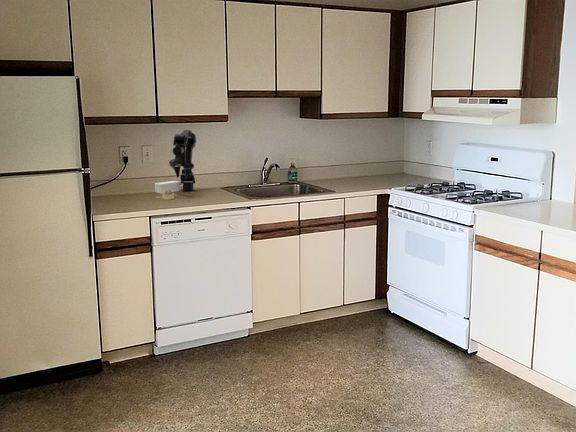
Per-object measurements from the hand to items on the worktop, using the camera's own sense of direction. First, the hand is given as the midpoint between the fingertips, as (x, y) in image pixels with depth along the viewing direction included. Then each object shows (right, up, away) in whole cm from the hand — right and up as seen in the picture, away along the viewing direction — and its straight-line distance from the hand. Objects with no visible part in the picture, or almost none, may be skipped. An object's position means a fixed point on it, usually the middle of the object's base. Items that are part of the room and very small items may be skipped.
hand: (182, 178), depth 375 cm
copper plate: (-4, -13, -3) cm, 14 cm away
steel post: (-7, -14, -10) cm, 19 cm away
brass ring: (-7, -13, -10) cm, 18 cm away
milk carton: (-18, -7, +8) cm, 21 cm away
